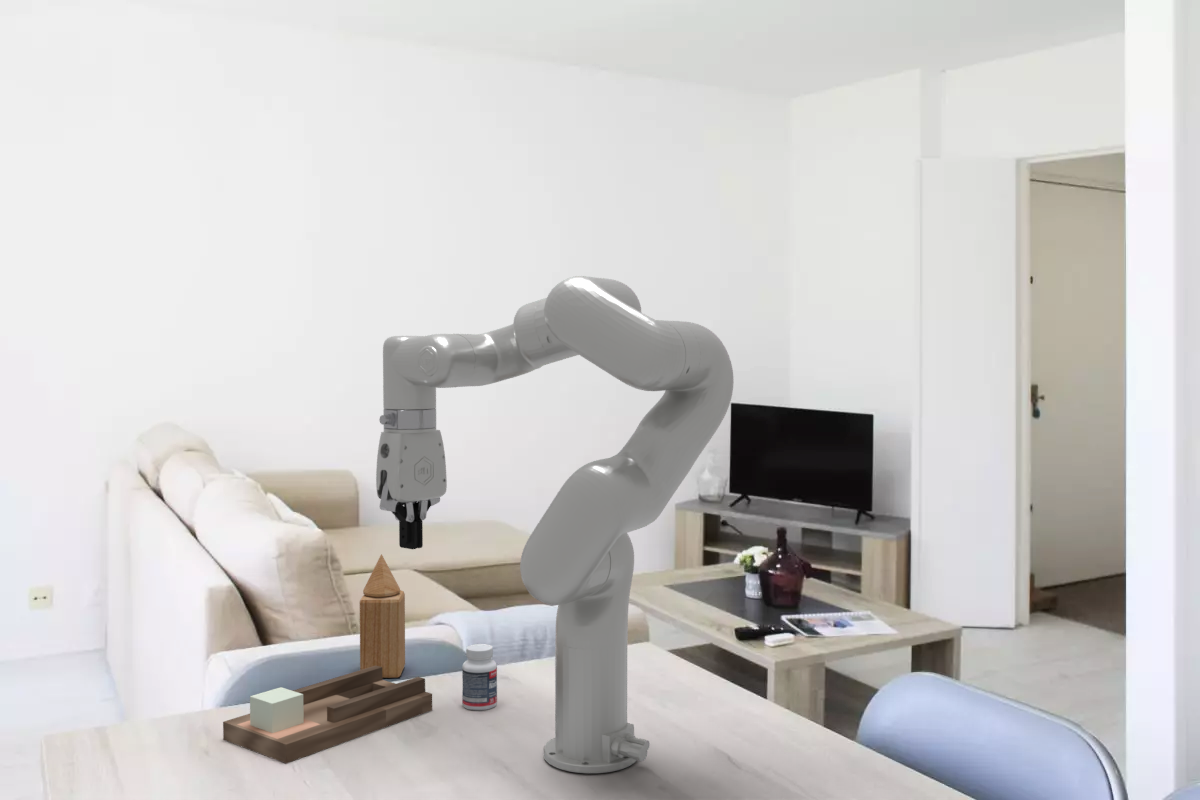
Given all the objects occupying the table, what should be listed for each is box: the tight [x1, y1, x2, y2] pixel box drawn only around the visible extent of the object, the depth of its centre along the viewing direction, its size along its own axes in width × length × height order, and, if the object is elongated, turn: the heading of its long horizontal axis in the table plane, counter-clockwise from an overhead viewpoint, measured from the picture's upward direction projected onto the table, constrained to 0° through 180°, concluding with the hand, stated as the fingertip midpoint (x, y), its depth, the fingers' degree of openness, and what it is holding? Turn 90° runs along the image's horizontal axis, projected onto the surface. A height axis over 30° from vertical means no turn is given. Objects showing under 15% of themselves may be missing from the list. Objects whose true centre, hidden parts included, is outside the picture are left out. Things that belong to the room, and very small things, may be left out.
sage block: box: [249, 687, 304, 733], centre depth 147 cm, size 5×5×4 cm
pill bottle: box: [461, 643, 498, 711], centre depth 162 cm, size 5×5×9 cm
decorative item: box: [359, 554, 406, 679], centre depth 178 cm, size 7×7×20 cm
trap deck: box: [222, 666, 433, 764], centre depth 154 cm, size 14×26×4 cm, turn 143°
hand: (411, 547), depth 156 cm, fingers closed
